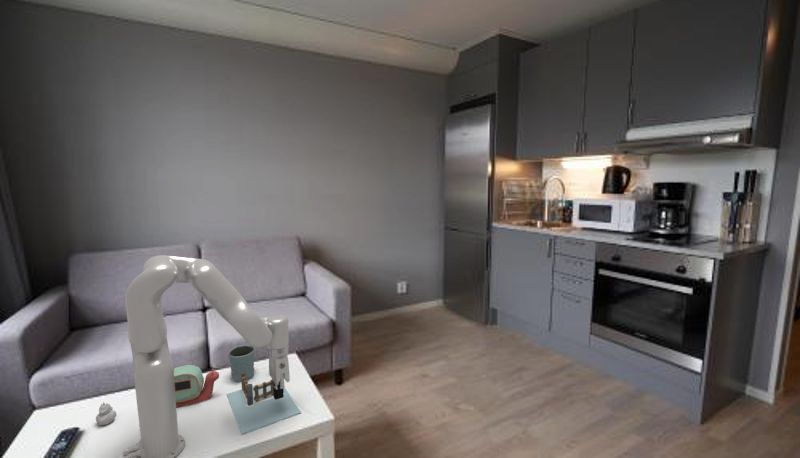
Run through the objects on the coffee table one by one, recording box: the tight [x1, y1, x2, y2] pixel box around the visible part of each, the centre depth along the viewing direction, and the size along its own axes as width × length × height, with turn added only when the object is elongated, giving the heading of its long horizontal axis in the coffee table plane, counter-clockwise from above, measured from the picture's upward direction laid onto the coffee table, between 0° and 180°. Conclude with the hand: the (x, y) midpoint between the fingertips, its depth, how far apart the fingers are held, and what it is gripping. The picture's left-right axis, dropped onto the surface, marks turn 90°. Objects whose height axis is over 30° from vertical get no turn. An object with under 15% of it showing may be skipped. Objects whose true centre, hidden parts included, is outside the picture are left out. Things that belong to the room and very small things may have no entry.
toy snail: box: [174, 364, 220, 408], centre depth 136 cm, size 25×8×14 cm, turn 111°
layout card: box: [226, 380, 302, 435], centre depth 137 cm, size 20×27×1 cm
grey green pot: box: [228, 344, 256, 383], centre depth 154 cm, size 10×10×12 cm
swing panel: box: [253, 379, 274, 402], centre depth 140 cm, size 11×1×7 cm, turn 131°
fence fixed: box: [240, 372, 253, 406], centre depth 139 cm, size 13×2×8 cm, turn 35°
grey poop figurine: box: [95, 402, 117, 426], centre depth 126 cm, size 5×7×8 cm
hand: (278, 397), depth 134 cm, fingers closed
